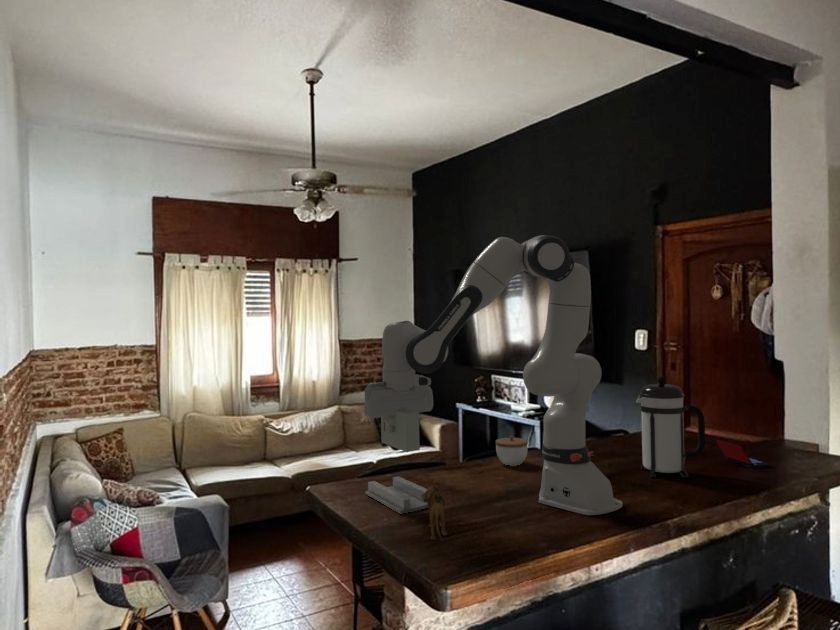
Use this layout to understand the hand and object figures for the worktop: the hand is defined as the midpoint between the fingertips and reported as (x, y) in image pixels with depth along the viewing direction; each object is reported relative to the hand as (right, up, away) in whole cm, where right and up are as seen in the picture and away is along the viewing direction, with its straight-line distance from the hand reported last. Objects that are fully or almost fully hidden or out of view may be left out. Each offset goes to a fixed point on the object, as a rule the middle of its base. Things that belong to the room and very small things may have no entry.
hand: (399, 430), depth 159 cm
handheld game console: (+111, -17, +30) cm, 116 cm away
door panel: (0, -4, 0) cm, 4 cm away
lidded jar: (+36, -19, +37) cm, 55 cm away
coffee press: (+82, -18, +21) cm, 87 cm away
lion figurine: (+9, -19, -23) cm, 31 cm away
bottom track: (0, -19, 0) cm, 19 cm away
